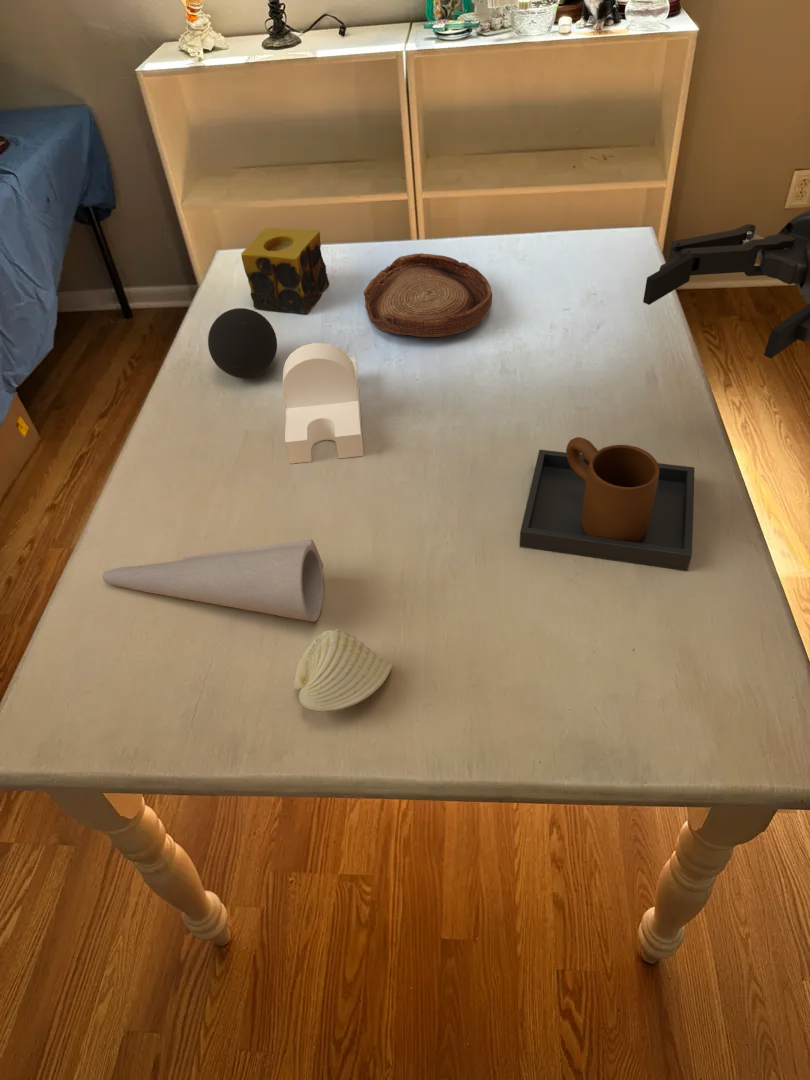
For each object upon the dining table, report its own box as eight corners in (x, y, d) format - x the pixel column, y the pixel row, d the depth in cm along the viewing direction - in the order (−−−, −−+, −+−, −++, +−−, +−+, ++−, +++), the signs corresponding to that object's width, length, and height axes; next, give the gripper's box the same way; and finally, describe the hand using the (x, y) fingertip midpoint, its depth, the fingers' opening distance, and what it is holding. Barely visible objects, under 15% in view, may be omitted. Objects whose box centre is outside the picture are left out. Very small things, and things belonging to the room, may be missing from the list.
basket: (347, 295, 133) (343, 268, 129) (454, 266, 137) (453, 238, 134) (397, 362, 118) (395, 333, 115) (515, 326, 123) (516, 298, 119)
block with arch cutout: (363, 456, 104) (353, 387, 96) (290, 464, 104) (274, 395, 96) (358, 377, 116) (348, 310, 108) (292, 384, 116) (278, 318, 108)
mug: (540, 504, 94) (545, 443, 88) (586, 476, 97) (594, 415, 90) (614, 561, 87) (625, 500, 80) (661, 530, 90) (676, 468, 83)
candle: (330, 285, 136) (321, 229, 129) (308, 316, 129) (298, 258, 122) (277, 280, 138) (265, 225, 131) (252, 310, 132) (239, 253, 125)
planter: (63, 609, 83) (296, 591, 78) (90, 548, 89) (308, 528, 84) (98, 650, 89) (317, 636, 84) (121, 590, 94) (327, 574, 90)
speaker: (204, 374, 120) (186, 315, 112) (257, 346, 124) (243, 288, 117) (242, 399, 114) (226, 340, 107) (295, 369, 119) (283, 310, 112)
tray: (687, 571, 86) (691, 555, 85) (519, 546, 91) (520, 531, 89) (690, 483, 96) (694, 467, 94) (538, 464, 100) (539, 449, 98)
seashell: (272, 661, 79) (325, 604, 79) (332, 702, 83) (383, 648, 83) (286, 705, 72) (344, 642, 72) (350, 747, 76) (406, 688, 76)
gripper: (934, 313, 78) (817, 405, 70) (719, 236, 92) (599, 305, 84) (968, 240, 73) (845, 331, 64) (734, 170, 87) (607, 237, 78)
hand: (706, 316), depth 74 cm, fingers open, 13 cm apart
